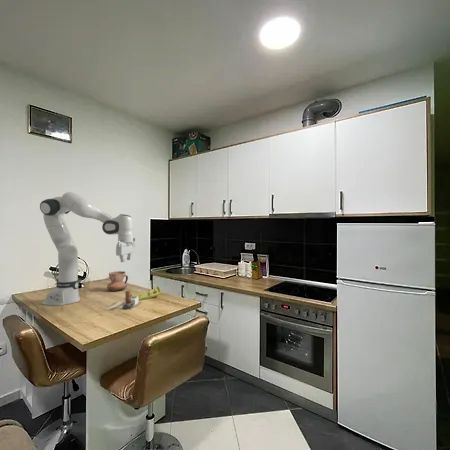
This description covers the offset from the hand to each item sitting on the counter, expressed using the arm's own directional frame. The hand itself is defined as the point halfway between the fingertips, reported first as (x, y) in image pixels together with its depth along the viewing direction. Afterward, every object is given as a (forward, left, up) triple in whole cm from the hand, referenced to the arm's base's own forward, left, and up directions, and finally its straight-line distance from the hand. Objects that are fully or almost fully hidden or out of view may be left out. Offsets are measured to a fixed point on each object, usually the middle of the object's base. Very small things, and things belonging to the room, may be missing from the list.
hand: (125, 261), depth 159 cm
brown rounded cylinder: (+4, -6, -28) cm, 29 cm away
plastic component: (+8, +16, -30) cm, 34 cm away
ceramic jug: (-24, +41, -29) cm, 56 cm away
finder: (+4, +2, -28) cm, 28 cm away
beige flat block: (0, -2, -29) cm, 29 cm away
